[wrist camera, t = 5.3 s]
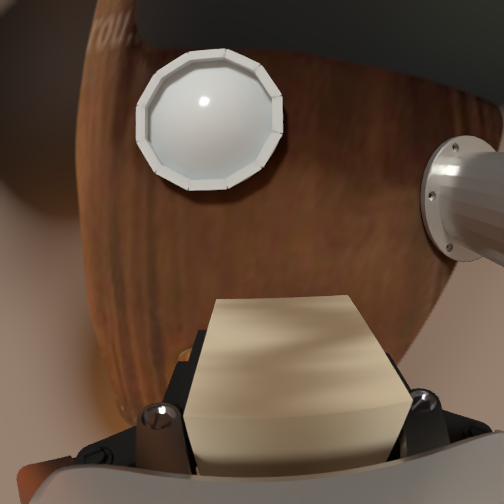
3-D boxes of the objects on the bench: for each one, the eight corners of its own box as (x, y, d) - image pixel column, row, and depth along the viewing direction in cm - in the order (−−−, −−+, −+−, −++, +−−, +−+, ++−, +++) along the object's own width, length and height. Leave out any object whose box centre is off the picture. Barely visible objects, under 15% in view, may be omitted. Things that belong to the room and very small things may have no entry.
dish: (280, 52, 21) (281, 46, 20) (283, 188, 24) (284, 190, 23) (143, 63, 21) (137, 58, 20) (142, 193, 25) (136, 194, 23)
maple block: (347, 295, 11) (412, 400, 5) (334, 392, 13) (365, 498, 7) (216, 299, 11) (183, 415, 6) (226, 396, 13) (211, 508, 7)
